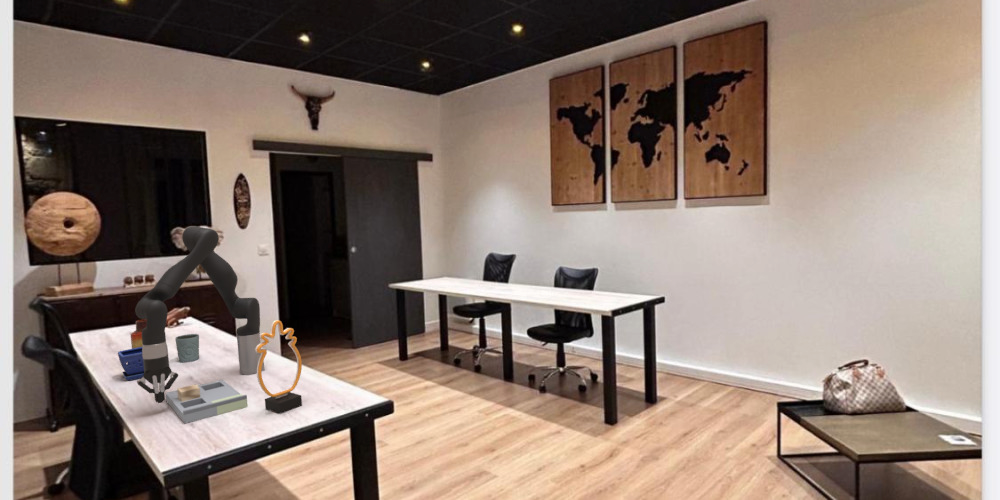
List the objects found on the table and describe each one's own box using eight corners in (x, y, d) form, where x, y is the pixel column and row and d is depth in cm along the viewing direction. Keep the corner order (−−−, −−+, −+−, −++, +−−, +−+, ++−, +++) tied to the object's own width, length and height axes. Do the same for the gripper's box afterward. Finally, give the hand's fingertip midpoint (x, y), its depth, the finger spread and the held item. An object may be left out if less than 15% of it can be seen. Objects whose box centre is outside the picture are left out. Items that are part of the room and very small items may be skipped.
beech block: (196, 393, 197) (195, 384, 197) (200, 397, 193) (199, 387, 193) (178, 397, 193) (177, 388, 193) (181, 401, 189) (181, 392, 188)
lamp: (269, 417, 178) (261, 326, 175) (254, 413, 183) (247, 324, 180) (311, 401, 192) (305, 317, 189) (297, 397, 197) (290, 315, 194)
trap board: (222, 386, 213) (222, 376, 213) (247, 406, 189) (246, 395, 189) (165, 400, 200) (164, 389, 199) (184, 423, 176) (183, 411, 176)
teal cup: (187, 357, 262) (185, 333, 261) (205, 357, 260) (203, 333, 259) (172, 363, 252) (170, 339, 251) (191, 363, 250) (189, 338, 249)
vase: (149, 363, 253) (145, 322, 251) (127, 364, 253) (123, 323, 252) (164, 357, 264) (160, 317, 262) (143, 357, 264) (139, 318, 262)
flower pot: (123, 383, 224) (120, 356, 223) (119, 376, 234) (117, 350, 233) (159, 375, 232) (157, 349, 231) (154, 369, 242) (152, 344, 241)
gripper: (134, 361, 178) (139, 410, 180) (179, 353, 187) (183, 399, 189) (131, 357, 184) (136, 405, 185) (174, 349, 193) (179, 394, 194)
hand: (160, 402), depth 187 cm, fingers closed
